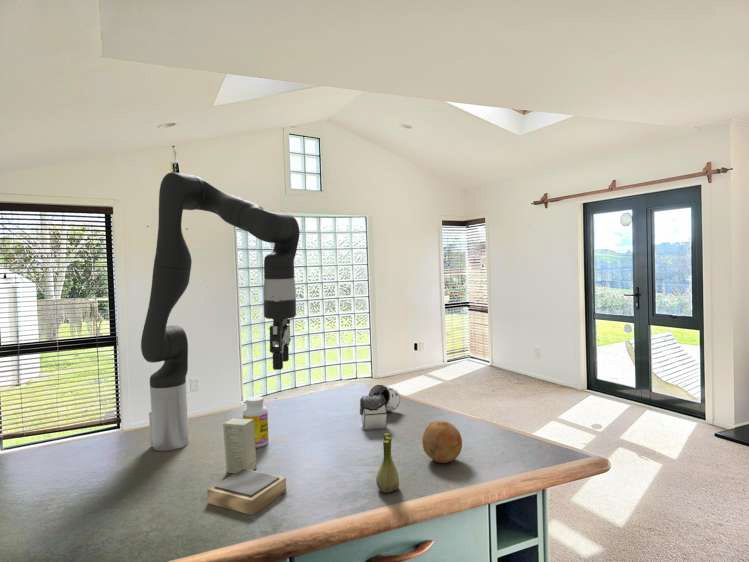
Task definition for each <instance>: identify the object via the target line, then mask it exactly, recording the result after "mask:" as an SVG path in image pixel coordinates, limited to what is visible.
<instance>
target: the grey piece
mask: <svg viewBox="0 0 749 562" xmlns="http://www.w3.org/2000/svg"><path fill="white" fill-rule="evenodd" d="M359 400H360V401H359V407H360V408H359V415H360V418H361V424H362V430H363V431H367V430H368V431H371V430H381V429H384V430H385V429H386V428H387V419H388V412H393V411H395V410H396V409H397V408H399V406H400V404H401V396H400V393H399V391H397V389H395V388H394V387H390V386H387V385H384V384H376V385H374V386H373V387H372V388H370V391H369V393H368V395H364V396H363V395H362V396H361V398H359Z"/></svg>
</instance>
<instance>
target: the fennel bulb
mask: <svg viewBox="0 0 749 562" xmlns="http://www.w3.org/2000/svg"><path fill="white" fill-rule="evenodd" d="M382 446H383V458H382V459H383V460H382V461H381V464H380V467H379V468H378V472H377V474H376V477H375V481H376V486H377V489H379V491H380V492H381V493H385V494H387V493H388V494H389V493H392V492H394V491H396V490H398V488H399V487H400V482H399V481H400V480H399V479H400V478H399V473H398V469H397V468H396V467H397V466H396V465H395V463H394V461H393V457H392V437H391V433H390V432H386V433H384V434H383V443H382Z"/></svg>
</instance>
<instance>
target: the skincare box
mask: <svg viewBox="0 0 749 562" xmlns="http://www.w3.org/2000/svg"><path fill="white" fill-rule="evenodd" d="M222 428H223V429H222V430H223V445H224V456H225V457H224V459H225V470H226V473H230V474H235V473H237V472H239V471H240V470H242V469H247V470H252V471H255V469H257V467H258V465H257V449H256V448H255V433H254V419H243V417H242V418H239V417H238V418H237V417H232V418H230V419H228V420H226V421H225V422H223V423H222Z"/></svg>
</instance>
